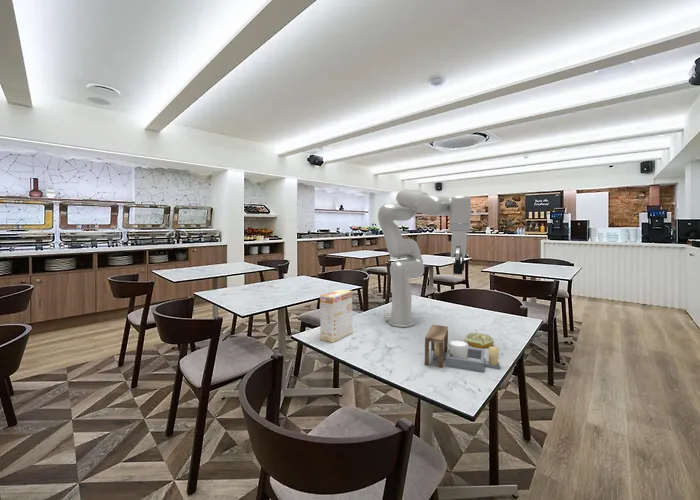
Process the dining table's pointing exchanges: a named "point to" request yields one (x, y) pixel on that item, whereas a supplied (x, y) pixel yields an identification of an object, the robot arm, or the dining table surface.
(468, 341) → the decorated donut
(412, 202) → the robot arm
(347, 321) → the coffeecake box
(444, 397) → the dining table surface
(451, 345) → the white cylinder
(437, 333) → the tunnel
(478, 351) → the slider
